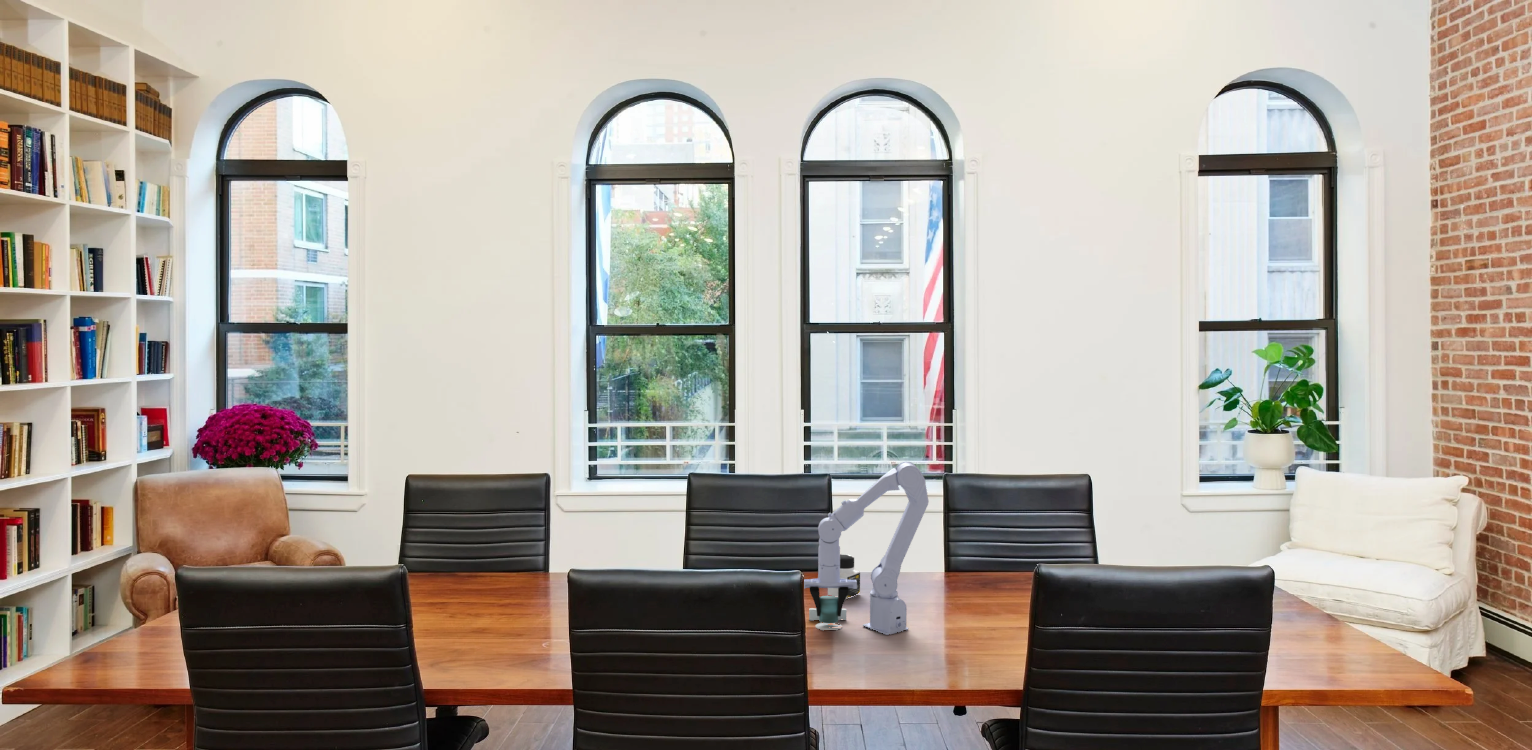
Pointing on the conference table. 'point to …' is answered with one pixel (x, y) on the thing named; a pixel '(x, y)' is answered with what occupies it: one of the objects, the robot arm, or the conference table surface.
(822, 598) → the teal cylinder
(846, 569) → the medicine bottle
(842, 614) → the divider wall
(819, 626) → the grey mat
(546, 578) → the conference table surface
